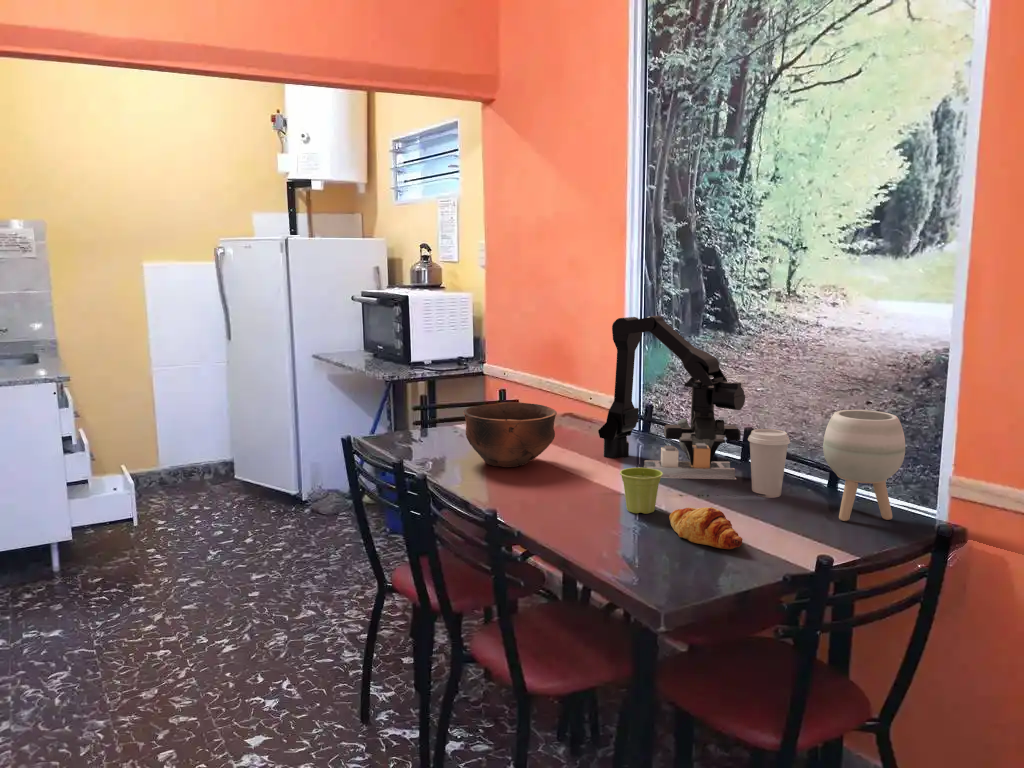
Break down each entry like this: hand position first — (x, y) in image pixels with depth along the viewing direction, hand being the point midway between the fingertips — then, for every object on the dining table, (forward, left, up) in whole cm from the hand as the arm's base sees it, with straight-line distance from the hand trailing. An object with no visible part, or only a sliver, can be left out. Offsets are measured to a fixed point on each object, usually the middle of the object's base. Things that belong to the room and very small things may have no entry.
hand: (700, 464), depth 209 cm
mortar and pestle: (+1, +17, -3) cm, 17 cm away
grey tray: (-3, 0, -3) cm, 4 cm away
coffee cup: (+13, -16, -3) cm, 21 cm away
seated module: (-8, 0, -2) cm, 8 cm away
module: (0, 0, -1) cm, 1 cm away
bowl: (-50, +9, -3) cm, 51 cm away
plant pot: (-18, -31, -3) cm, 36 cm away
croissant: (-7, -48, -3) cm, 49 cm away
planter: (+29, -32, -3) cm, 43 cm away
